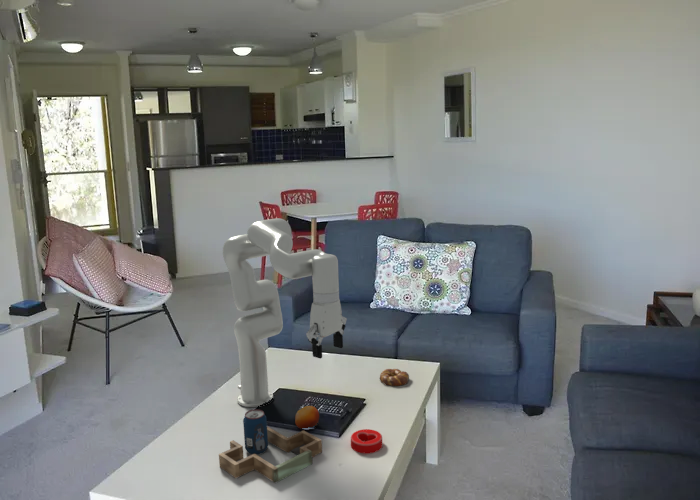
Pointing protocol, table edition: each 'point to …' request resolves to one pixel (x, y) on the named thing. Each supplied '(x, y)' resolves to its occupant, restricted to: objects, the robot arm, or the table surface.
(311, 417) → the fruit
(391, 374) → the pretzel
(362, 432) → the decorative ornament
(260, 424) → the soda can
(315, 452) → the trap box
